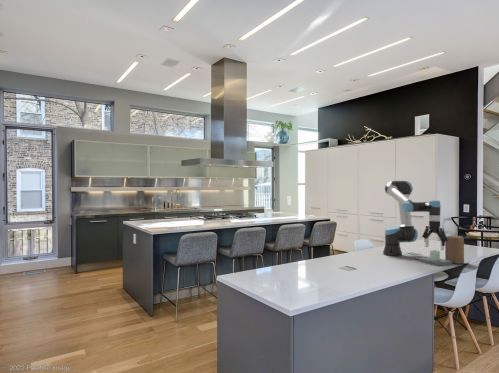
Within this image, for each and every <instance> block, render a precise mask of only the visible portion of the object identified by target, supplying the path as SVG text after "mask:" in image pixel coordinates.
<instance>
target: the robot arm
mask: <svg viewBox="0 0 499 373" xmlns="http://www.w3.org/2000/svg"><path fill="white" fill-rule="evenodd" d="M413 188H414V187H413V185H412V183H411V182H410V181H408V180H391V181H388V182H387V183H386V184H385V185H384V192H385V193H386V194H387V196H390V197H392V198H393V199H394V200H396V201H397V202H398V208H399V209H398V210H399V217H400V220H399V221H400V225H399V226H391V227H390V226H389V227H386V228H385V229H384V230H385V231H384V238H385V239H384V243H385V244H384V248H383V251H382V254H383V255H385V256H391V257H399V256H400V257H401V256H403V252H402V248H401V243H414V242H415V241H416V240H417V239H418V237H419V236H418V235H419V234H418V230H417V229H416V228H415V226H414V225H413V224H412V223H413V222H412V214H411V213H416V212H417V213H425V212H427V213H429V214H428V225H426V226H425V230H424V231H423V234H422V236H421V237H422V238H423V239H424V246H425V248H429V243H430V242H429V241H430V239H429V237H430V236H431V235H432V233H433V234H436V235H437V236H438V237H439V239H440V251H445V241H448V240H447V235H446V232H445V229H444V227H441V201H440V200H438V199H437V200H435V199H434V200H432V199H431V200H429V201H428V202H427V201H421V202H419V201H415V202H414V201H412V200H411V199H410V196H411V194H412V193H413Z"/></svg>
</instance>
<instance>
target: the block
mask: <svg viewBox="0 0 499 373" xmlns="http://www.w3.org/2000/svg"><path fill="white" fill-rule="evenodd" d="M446 237H447V240H448V241H445V246H444V252H445V253H444V254H445V259H444V260H448V261H452V264H455V265H460V264H463V263H465V252H464V251H465V240H464V239H465V238H464V237H463V236H460V235H459V236H458V235H448V236H447V235H446Z"/></svg>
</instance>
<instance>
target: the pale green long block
mask: <svg viewBox="0 0 499 373" xmlns="http://www.w3.org/2000/svg"><path fill="white" fill-rule="evenodd" d="M440 251H441V250H440ZM440 251H439V250H437V249H433V250H429V255H430V256H429V257H430V260H431V261H440V259H441V258H440V257H441V256H440V255H441V254H440V253H441V252H440Z"/></svg>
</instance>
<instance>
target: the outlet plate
mask: <svg viewBox="0 0 499 373" xmlns="http://www.w3.org/2000/svg"><path fill="white" fill-rule="evenodd" d="M424 257H425V258H418V257H417V258H418V260H417V262H421V263H424V264H429V265H433V266H437V267H442V266H450V265H453V263H452V261H448V260H445V259H444V258H440V261H431V260H430V256H424Z"/></svg>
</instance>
